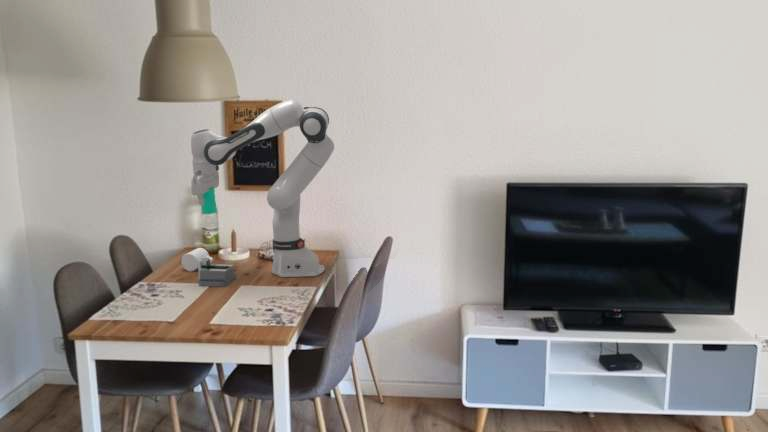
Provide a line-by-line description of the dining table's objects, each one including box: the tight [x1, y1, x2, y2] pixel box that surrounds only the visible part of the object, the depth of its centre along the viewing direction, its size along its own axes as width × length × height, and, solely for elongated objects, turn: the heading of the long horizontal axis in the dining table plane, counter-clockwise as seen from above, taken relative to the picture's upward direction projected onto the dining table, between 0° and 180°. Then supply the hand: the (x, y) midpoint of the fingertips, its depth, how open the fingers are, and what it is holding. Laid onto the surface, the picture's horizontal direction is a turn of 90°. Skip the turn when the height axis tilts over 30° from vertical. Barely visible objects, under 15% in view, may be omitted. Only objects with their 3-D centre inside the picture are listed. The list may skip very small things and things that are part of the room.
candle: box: [201, 187, 217, 215], centre depth 313 cm, size 6×6×12 cm
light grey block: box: [197, 258, 211, 280], centre depth 305 cm, size 9×6×7 cm, turn 80°
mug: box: [181, 247, 214, 272], centre depth 325 cm, size 12×10×8 cm
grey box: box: [198, 263, 237, 288], centre depth 305 cm, size 11×12×6 cm
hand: (206, 201), depth 312 cm, fingers open, 8 cm apart
